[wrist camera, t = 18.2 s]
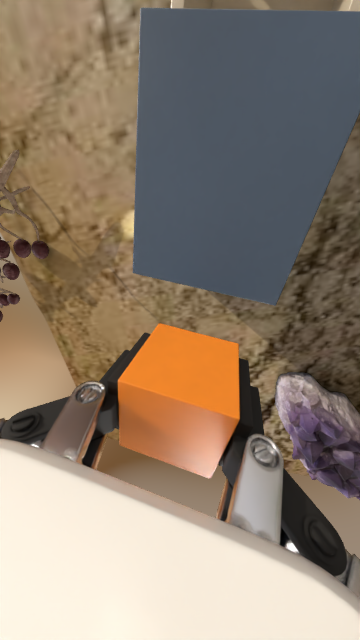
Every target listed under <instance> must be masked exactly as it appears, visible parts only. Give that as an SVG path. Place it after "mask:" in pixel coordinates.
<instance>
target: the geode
mask: <svg viewBox="0 0 360 640" xmlns="http://www.w3.org/2000/svg"><path fill="white" fill-rule="evenodd" d="M275 404H276V407H277V409H278V411H279V416H280V419H281V421H282V422H283V424H284V427H285V429H286V431H287V432H288V433H289V434H290V439H291V440H292V442H293V445H294V448H293V455H292V457H293V459H299V460H300V461H301V462H302V463H303V465H304V466H305V468H306V469H307V472H308V473H309V475H310V477H311V478H312V480H316V479H317V480H319V481H320V482H321V483H323V484H326V485H328V486H332V487H334V488H336V489H337V490H338V491H340V492H341V493H342V494H344V495H345V496H346V497H347V498H351V497H357V498H358V499H359V500H360V413H359V412H358V411H357V410H356V408H355V407H354V406H353V405H352V403H351V402H350V401H349V399H348V398H347V396H346V395H345V394H343V393H339V392H330V391H328V390H326V389H325V388H323V387H322V386H320V385H319V383H318V382H317V381H316V380H315V379H314V378H313V377H312V376H311V375H310V374H308V373H295V372H288V373H287V374H281V375H280V376H279V378H278V380H277V382H276V394H275Z"/></svg>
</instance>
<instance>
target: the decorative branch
mask: <svg viewBox="0 0 360 640" xmlns="http://www.w3.org/2000/svg"><path fill="white" fill-rule="evenodd" d="M18 156H19V150H15V151H14V152H13V153H12V154H11V155H10V157H9V158H8V159H7V161H6V162H5V164H4V165H3V167H2V168H1V170H0V191H2V193H3V194H4V195H5V196H3V197H0V201H1V200H3V199H8V200H9V201H10V202H11V204H12V205H13V207H14V209H13V210H8V209H5V208H3V207H1V206H0V215H2V214H3V213H11V214H14V213H15V211H16V213H18V214H19V215H21V216H23V217H25V218H27V219H28V220H29V221H30V222H31V223H32V225H33V226H34V228H35V230H36V233H37V238H38V241H35V242H33V244H32V251H33V253H34V255H35V256H36V257H37V258H39V259H44V258H46V257H47V255H48V253H49V249H48V246H47V244H46V243H44V242H43V241H39V233H38V230H37V227H36V225H35V223H34V222H33V221H32V220H31V219H30V218H29V217H28V216H27V215H25V214H24V213H22V212H21V211H20V210H19V208H18V205H17V202H16V199H15V197H14V195H16V194H18V193H20V192H23V191H25V190H27V189H29V188H30V186H27V187H23V188H20V189H18V190H16V191H14V192H12V193H10V192H9V191H8V190H7V189H6V188H5V187H4V186H5V184H6V182H7V180H8V177H9V175H10V173H11V171H12V169H13V167H14V165H15V163H16V161H17V159H18ZM0 228H2V229H3V230H5V231H6V232H8V233H10V234H11V235H13V236H15V237H17V238H19V239H18V240H16V241H15V242H14V245H13V246H14V251H15V253H16V254H17V255H18V256H19V257H22V258H26V257H28V256H29V254H30V253H31V245H30V244H29V243H28V242H27V241H26V240H23V239H21V238H20V237H18V236H17V235H15V234H13V233H12V232H10V231H9V230H7V229H5V228H4V227H3V226H2V225H1V223H0ZM9 242H11V241H8V242H6V241H4V240H1V237H0V260H3V261H6V262H9V263H6V264H5V265H4V266H3V273H4V275H5V276H6V277H7V278H8V279H10V280H15V279H16V278H18V276H19V273H20V271H19V268H18V266H17V265H15V264H13V263H10V261H7V260H5V259H3V258H7V257H8V256H9V253H10V247H9V245H8V243H9ZM0 273H1V269H0ZM2 278H5V277H4V276H1V275H0V281H1V282H3V279H2ZM0 290H1V291H4V292H1V293H0V307H1V308H3V305H4V306H7V305H9V304H10V303H11V304H17V303H18V302H19V300H20V297H19V295H17V294H15V293H12V292H10V291H7V290H4V289H1V288H0ZM2 293H11V294H9V295H8V296H7V295H5V294H2ZM2 317H3V314H2V312H1V311H0V322H1V320H2Z"/></svg>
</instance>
